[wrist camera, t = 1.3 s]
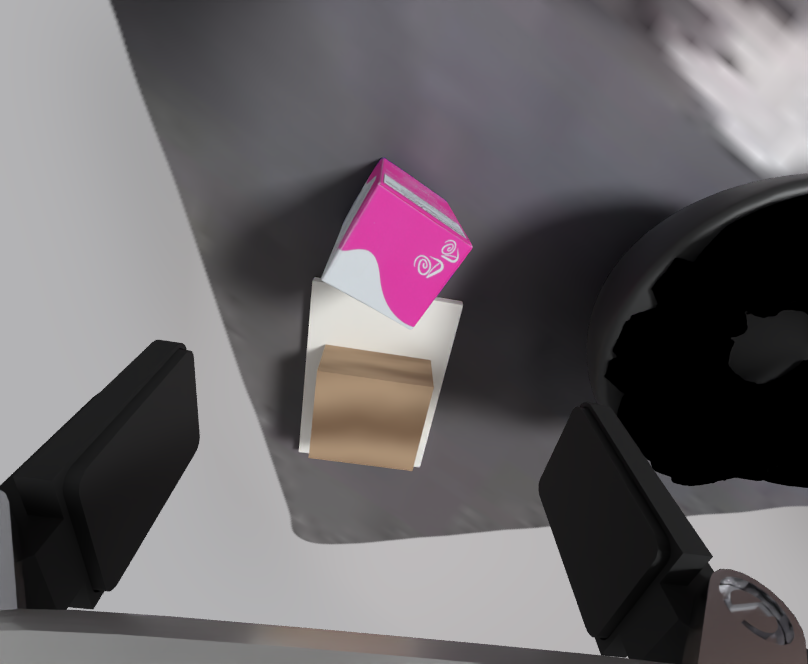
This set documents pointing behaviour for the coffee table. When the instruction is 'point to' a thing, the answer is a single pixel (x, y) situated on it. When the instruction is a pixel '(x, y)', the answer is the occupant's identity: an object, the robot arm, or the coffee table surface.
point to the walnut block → (370, 407)
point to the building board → (375, 342)
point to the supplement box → (396, 246)
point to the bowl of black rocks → (712, 338)
